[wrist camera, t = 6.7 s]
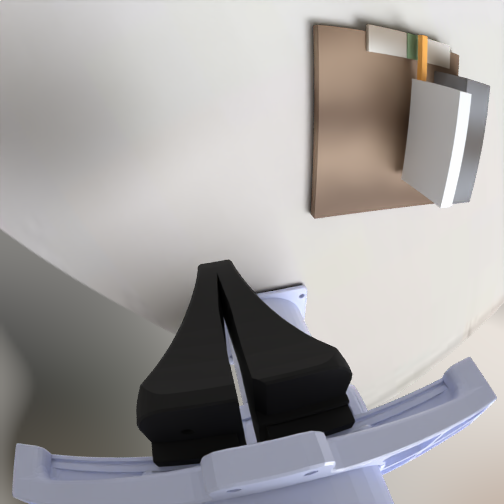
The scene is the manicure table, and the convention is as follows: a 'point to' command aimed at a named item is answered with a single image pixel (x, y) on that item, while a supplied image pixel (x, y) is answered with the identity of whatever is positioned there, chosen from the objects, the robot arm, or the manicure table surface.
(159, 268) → the manicure table surface
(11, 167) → the manicure table surface
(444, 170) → the paddle
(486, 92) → the gauge frame
